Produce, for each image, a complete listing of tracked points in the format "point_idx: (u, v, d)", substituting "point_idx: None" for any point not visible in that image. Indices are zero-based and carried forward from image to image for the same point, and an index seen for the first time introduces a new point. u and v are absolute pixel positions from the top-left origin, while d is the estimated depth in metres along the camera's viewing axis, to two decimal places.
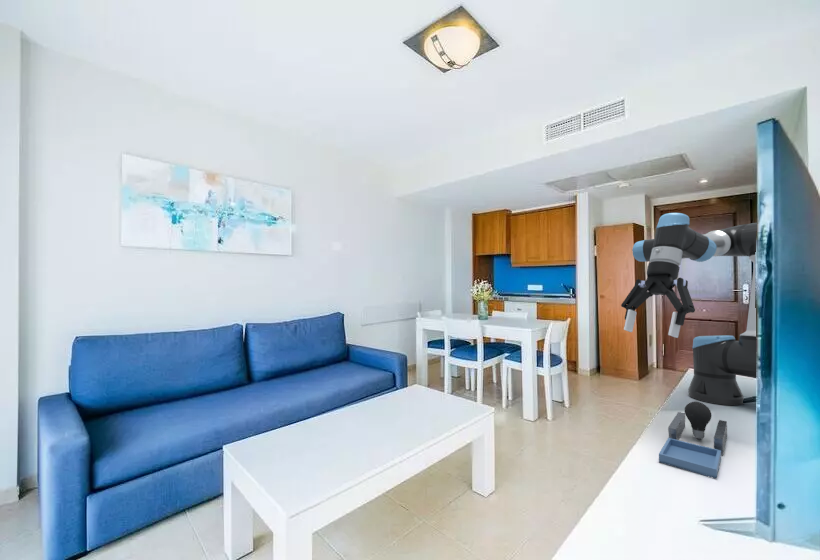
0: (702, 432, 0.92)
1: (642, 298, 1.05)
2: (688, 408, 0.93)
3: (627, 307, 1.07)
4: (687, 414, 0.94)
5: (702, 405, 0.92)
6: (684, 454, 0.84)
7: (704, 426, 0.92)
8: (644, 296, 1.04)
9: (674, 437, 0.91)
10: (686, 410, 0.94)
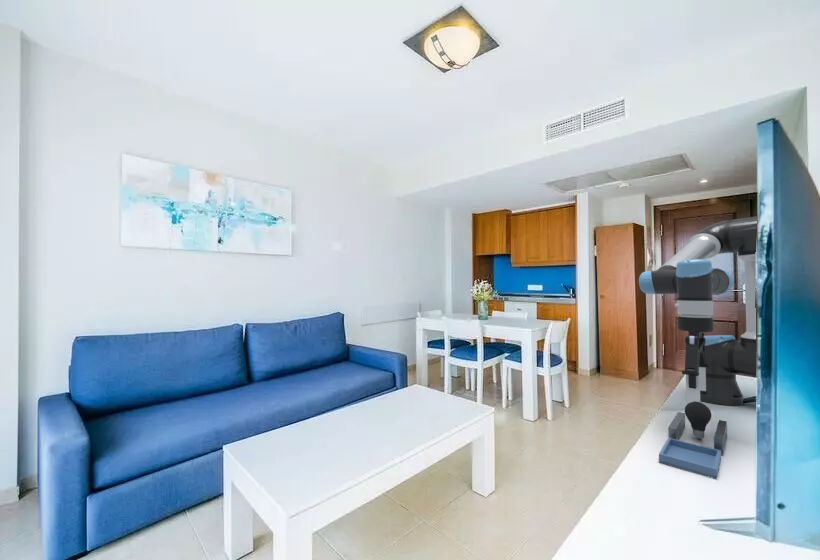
0: (702, 432, 0.92)
1: None
2: (688, 408, 0.93)
3: None
4: (687, 414, 0.94)
5: (702, 405, 0.92)
6: (684, 454, 0.84)
7: (704, 426, 0.92)
8: None
9: (674, 437, 0.91)
10: (686, 410, 0.94)
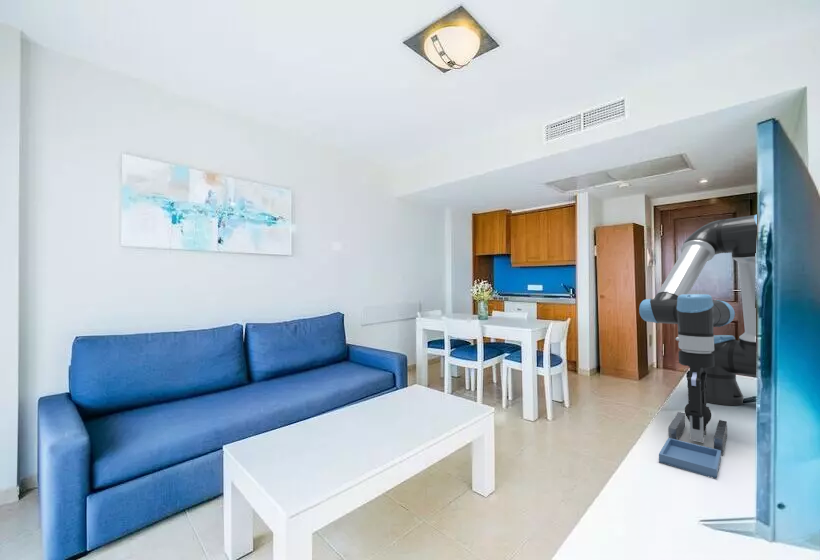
0: None
1: None
2: (688, 408, 0.93)
3: None
4: None
5: (702, 405, 0.92)
6: (684, 454, 0.84)
7: (704, 426, 0.92)
8: None
9: (674, 437, 0.91)
10: (686, 410, 0.94)
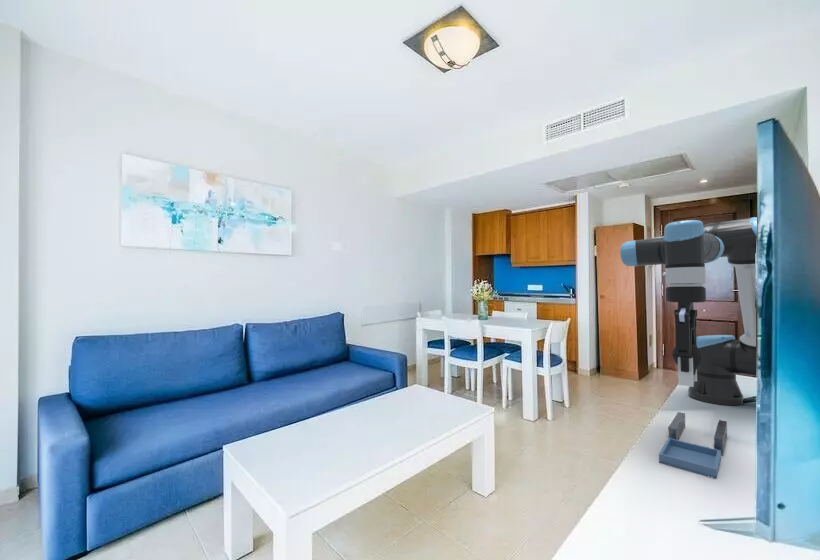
0: None
1: None
2: None
3: None
4: (675, 357, 0.83)
5: (692, 346, 0.81)
6: (684, 454, 0.84)
7: (694, 369, 0.81)
8: None
9: (674, 437, 0.91)
10: (674, 352, 0.83)
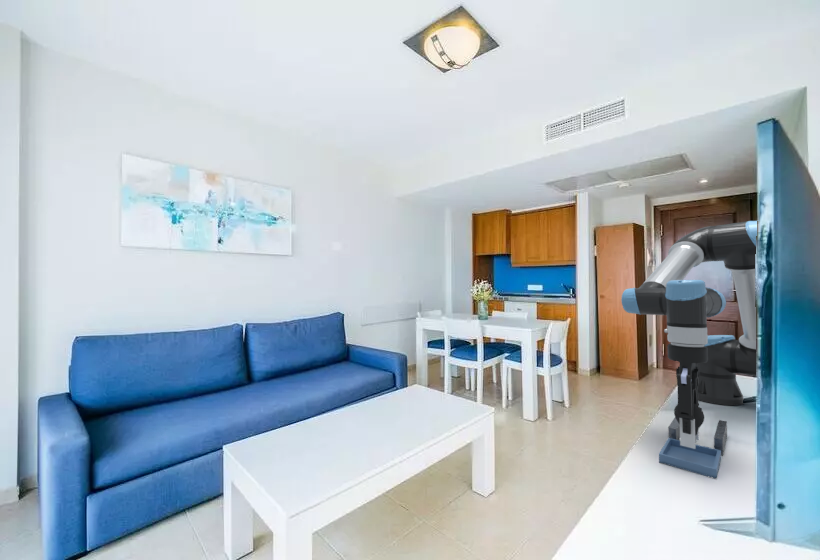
0: None
1: None
2: (677, 409, 0.82)
3: None
4: None
5: (694, 406, 0.81)
6: (684, 454, 0.84)
7: (696, 430, 0.80)
8: None
9: (674, 437, 0.91)
10: (676, 411, 0.83)
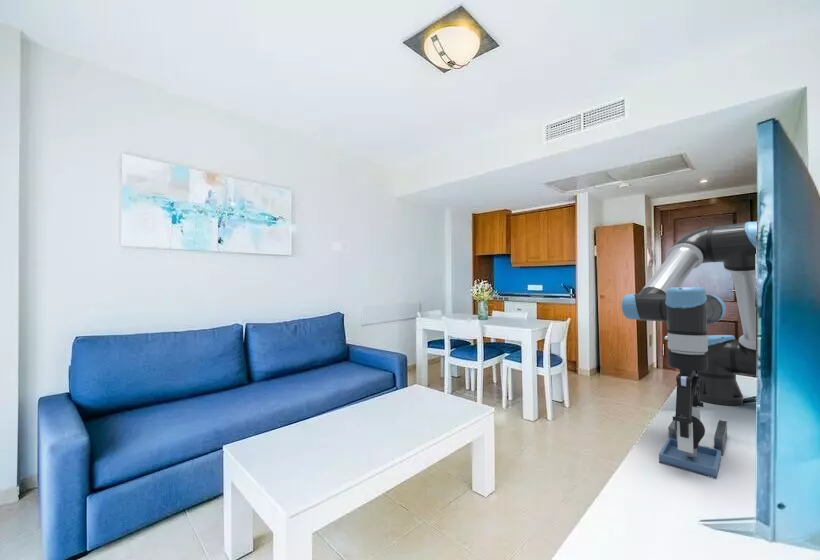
0: (694, 450, 0.81)
1: None
2: None
3: None
4: None
5: (694, 419, 0.81)
6: (684, 454, 0.84)
7: (696, 443, 0.81)
8: None
9: (674, 437, 0.91)
10: (676, 424, 0.83)
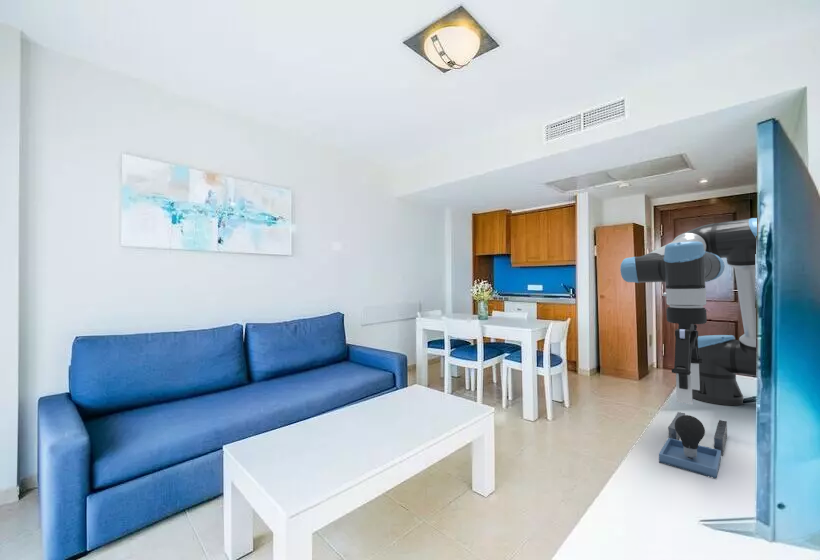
0: (694, 450, 0.81)
1: None
2: (678, 422, 0.82)
3: None
4: (677, 429, 0.82)
5: (694, 419, 0.81)
6: (684, 454, 0.84)
7: (696, 443, 0.81)
8: None
9: (674, 437, 0.91)
10: (676, 425, 0.83)
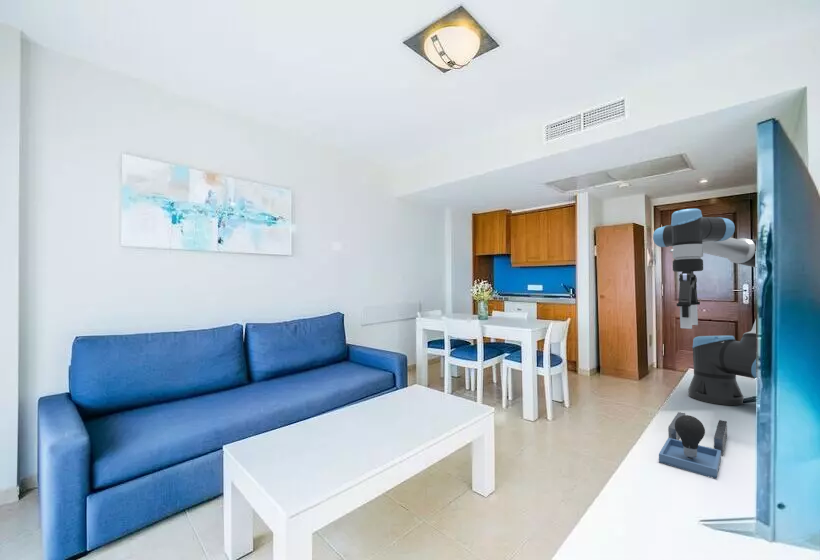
0: (694, 450, 0.81)
1: None
2: (678, 422, 0.82)
3: None
4: (677, 429, 0.82)
5: (694, 420, 0.81)
6: (684, 454, 0.84)
7: (696, 444, 0.80)
8: None
9: (674, 437, 0.91)
10: (676, 425, 0.83)
